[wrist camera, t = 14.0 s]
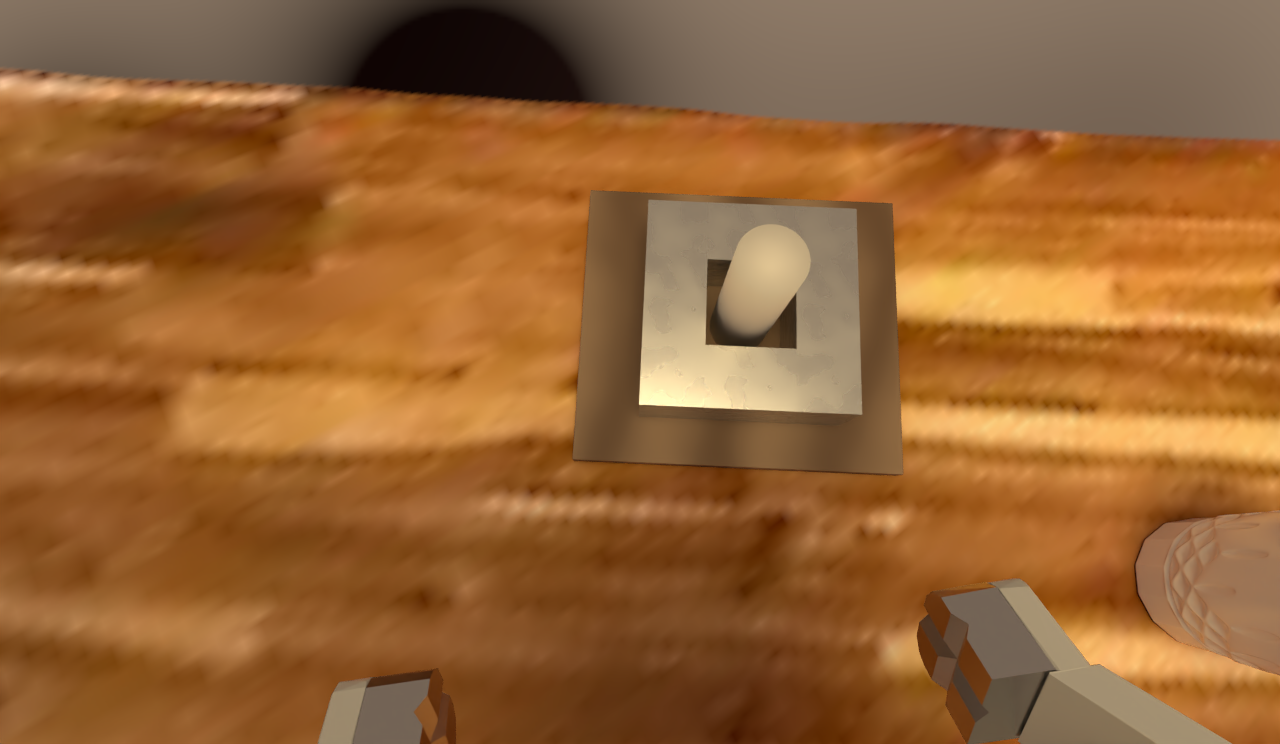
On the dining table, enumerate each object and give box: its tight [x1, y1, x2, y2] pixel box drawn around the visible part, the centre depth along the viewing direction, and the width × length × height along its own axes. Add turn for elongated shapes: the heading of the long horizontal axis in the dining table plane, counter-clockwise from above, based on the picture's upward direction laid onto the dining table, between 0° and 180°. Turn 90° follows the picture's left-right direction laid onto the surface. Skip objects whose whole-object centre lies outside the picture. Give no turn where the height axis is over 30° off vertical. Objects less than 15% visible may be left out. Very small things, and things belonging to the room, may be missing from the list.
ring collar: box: [639, 200, 862, 426], centre depth 35 cm, size 11×11×4 cm
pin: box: [710, 224, 811, 347], centre depth 33 cm, size 3×3×10 cm
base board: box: [573, 190, 903, 475], centre depth 38 cm, size 18×16×1 cm
